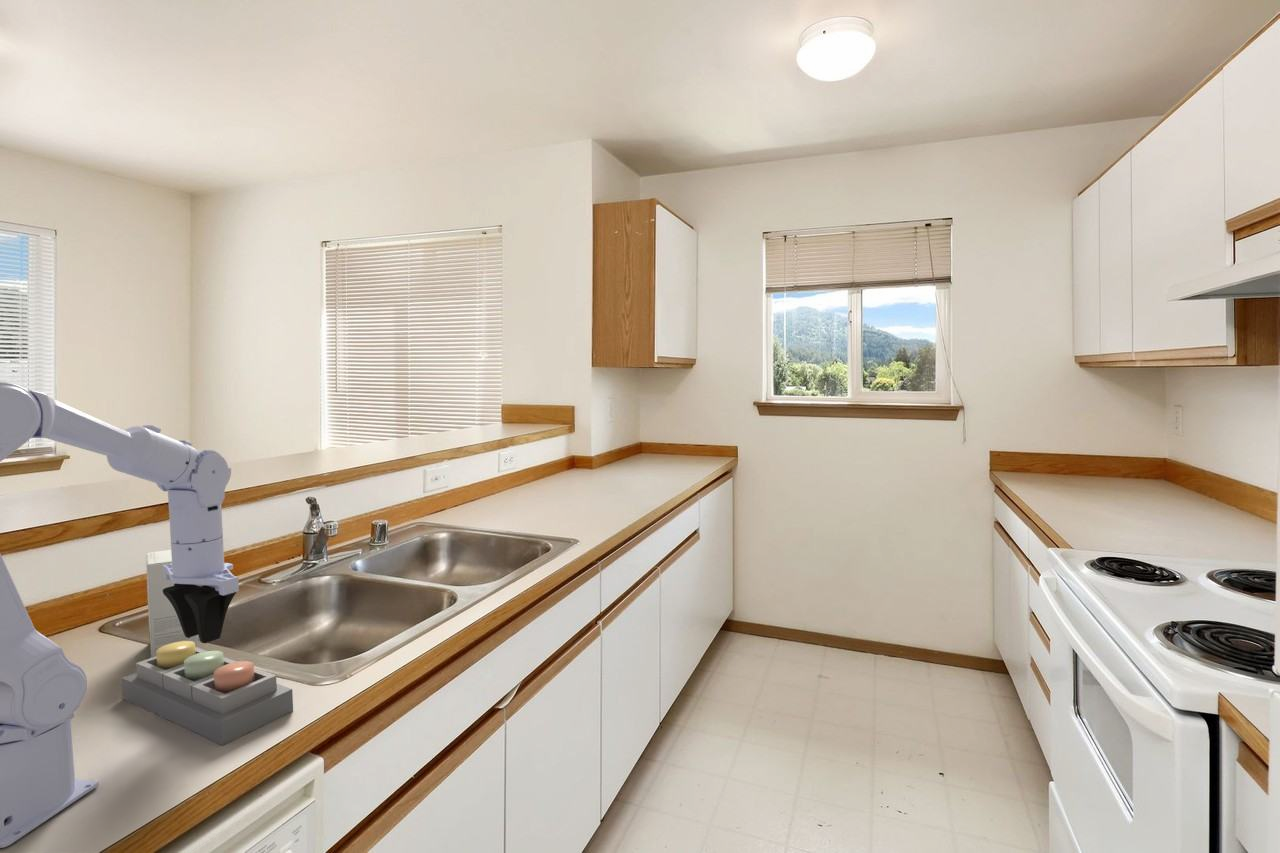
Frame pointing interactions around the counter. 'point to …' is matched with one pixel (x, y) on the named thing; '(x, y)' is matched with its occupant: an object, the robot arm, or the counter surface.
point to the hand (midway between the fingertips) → (202, 637)
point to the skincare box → (162, 605)
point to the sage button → (203, 664)
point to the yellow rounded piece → (174, 654)
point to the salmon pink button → (233, 676)
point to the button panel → (207, 700)
